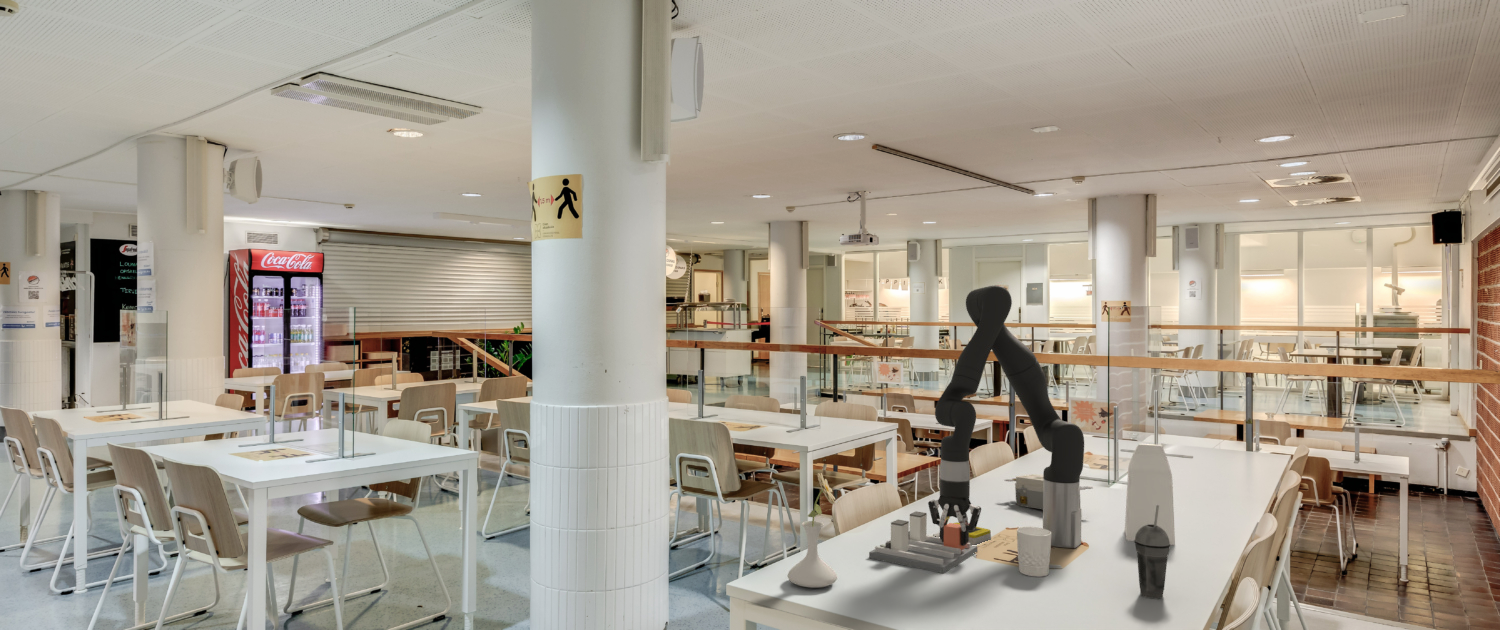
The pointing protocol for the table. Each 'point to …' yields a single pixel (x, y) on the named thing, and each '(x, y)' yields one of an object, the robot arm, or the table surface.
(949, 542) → the cap
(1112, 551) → the table surface
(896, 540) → the block
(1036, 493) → the grey labelled box
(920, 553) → the board
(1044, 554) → the white cup
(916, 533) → the off-white rectangular block
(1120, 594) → the table surface
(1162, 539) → the beverage cup
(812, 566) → the flower in vase
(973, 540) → the emergency button
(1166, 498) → the milk
